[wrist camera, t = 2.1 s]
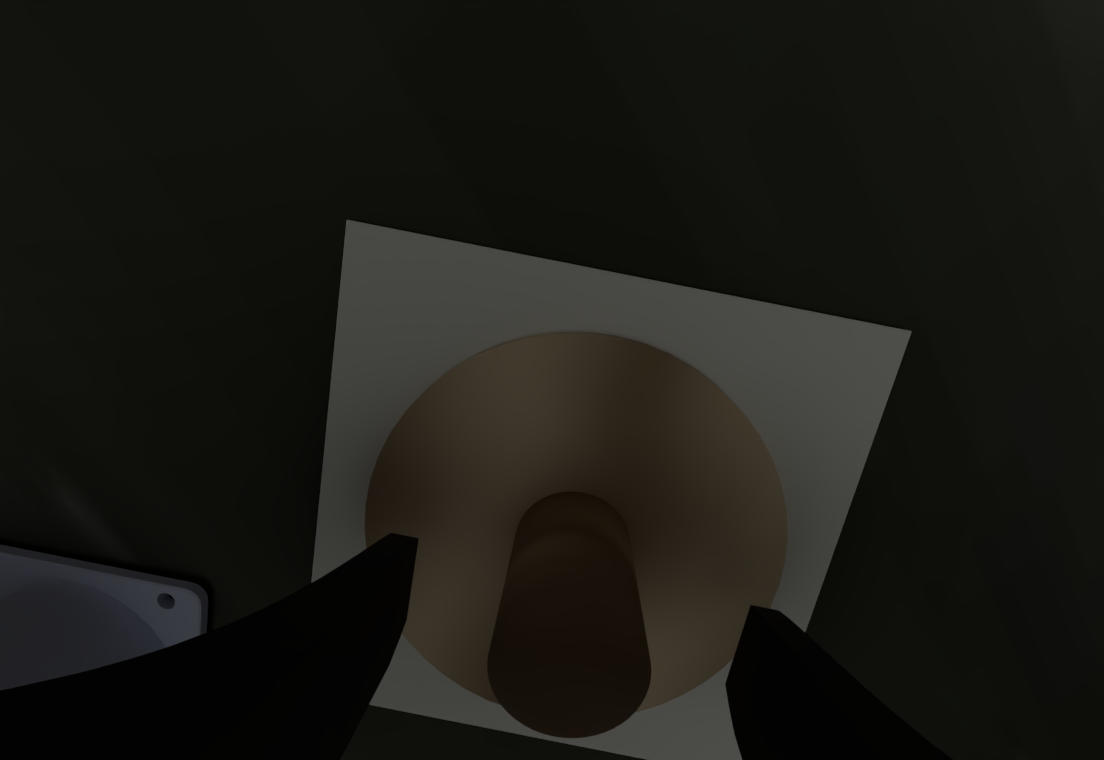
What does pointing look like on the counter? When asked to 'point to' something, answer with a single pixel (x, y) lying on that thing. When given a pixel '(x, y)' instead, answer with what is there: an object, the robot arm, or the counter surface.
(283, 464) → the counter surface
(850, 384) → the mat
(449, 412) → the lid
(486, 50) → the counter surface
